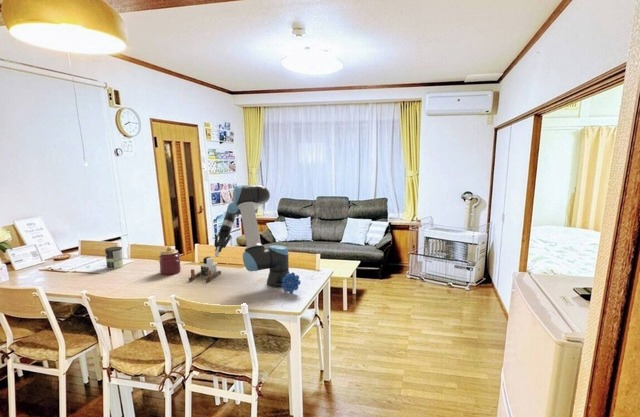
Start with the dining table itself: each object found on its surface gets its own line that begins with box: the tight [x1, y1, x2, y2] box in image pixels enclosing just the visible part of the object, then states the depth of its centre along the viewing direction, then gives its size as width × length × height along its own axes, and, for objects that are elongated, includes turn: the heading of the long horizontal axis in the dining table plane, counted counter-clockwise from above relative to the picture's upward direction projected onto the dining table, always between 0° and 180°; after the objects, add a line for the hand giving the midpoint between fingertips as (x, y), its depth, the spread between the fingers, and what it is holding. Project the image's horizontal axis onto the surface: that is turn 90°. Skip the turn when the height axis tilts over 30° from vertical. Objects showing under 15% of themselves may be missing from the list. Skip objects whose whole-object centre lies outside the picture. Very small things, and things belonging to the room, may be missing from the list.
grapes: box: [280, 271, 301, 294], centre depth 189 cm, size 12×7×12 cm, turn 74°
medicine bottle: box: [200, 256, 218, 278], centre depth 219 cm, size 7×7×12 cm
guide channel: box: [188, 268, 222, 283], centre depth 215 cm, size 17×14×6 cm
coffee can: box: [104, 246, 124, 270], centre depth 238 cm, size 10×10×14 cm
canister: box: [158, 246, 182, 276], centre depth 226 cm, size 13×13×18 cm
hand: (216, 255), depth 230 cm, fingers closed
